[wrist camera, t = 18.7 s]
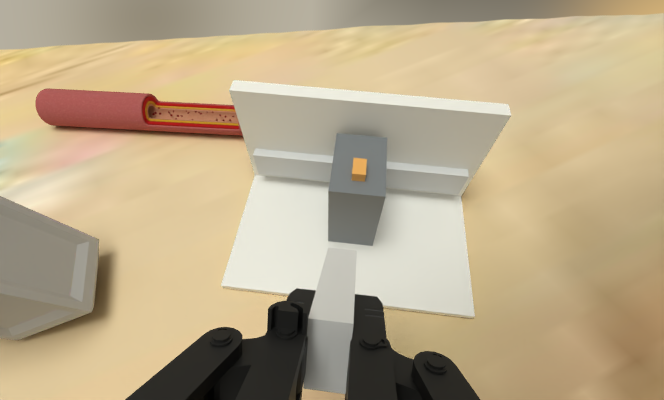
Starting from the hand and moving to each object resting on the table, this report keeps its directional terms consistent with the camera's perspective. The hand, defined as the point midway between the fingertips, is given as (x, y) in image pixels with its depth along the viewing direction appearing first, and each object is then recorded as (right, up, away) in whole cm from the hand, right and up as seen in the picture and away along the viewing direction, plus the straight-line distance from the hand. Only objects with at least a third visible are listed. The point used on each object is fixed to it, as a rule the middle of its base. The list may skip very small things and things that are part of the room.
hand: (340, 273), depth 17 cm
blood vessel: (-19, +14, +31) cm, 39 cm away
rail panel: (+2, 0, +21) cm, 21 cm away
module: (+2, +2, +22) cm, 22 cm away
